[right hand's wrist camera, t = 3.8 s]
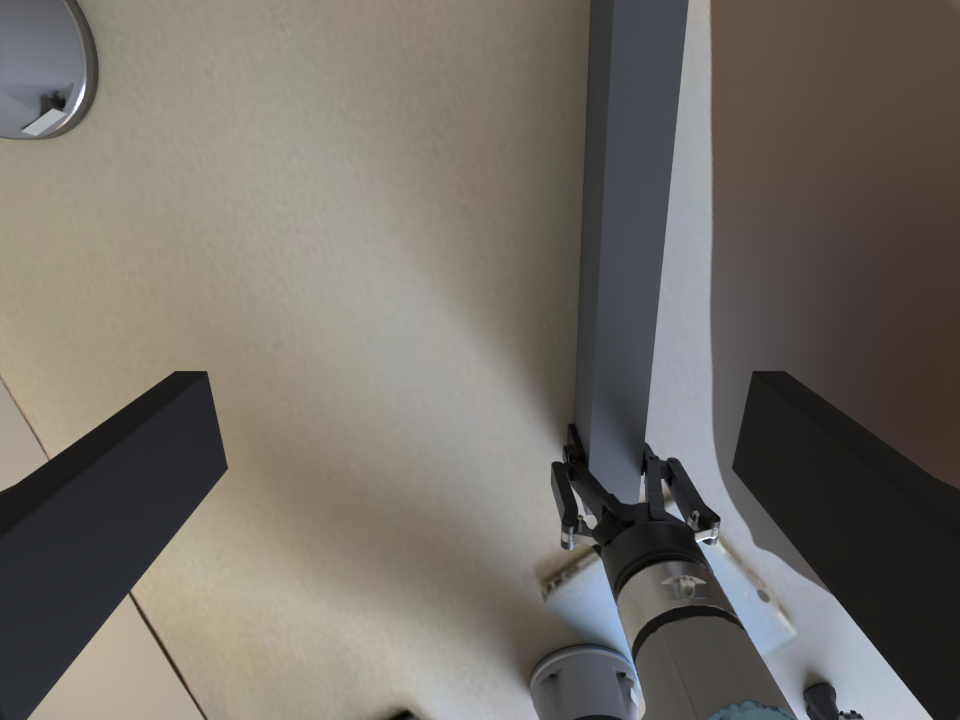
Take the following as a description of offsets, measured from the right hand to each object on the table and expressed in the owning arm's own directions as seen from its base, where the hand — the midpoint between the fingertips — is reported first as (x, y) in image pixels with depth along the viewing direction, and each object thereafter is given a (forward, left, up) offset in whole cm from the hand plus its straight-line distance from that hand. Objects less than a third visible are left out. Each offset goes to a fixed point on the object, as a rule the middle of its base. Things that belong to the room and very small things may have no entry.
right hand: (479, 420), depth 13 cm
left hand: (+24, +13, -40) cm, 49 cm away
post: (+4, +13, -41) cm, 43 cm away
